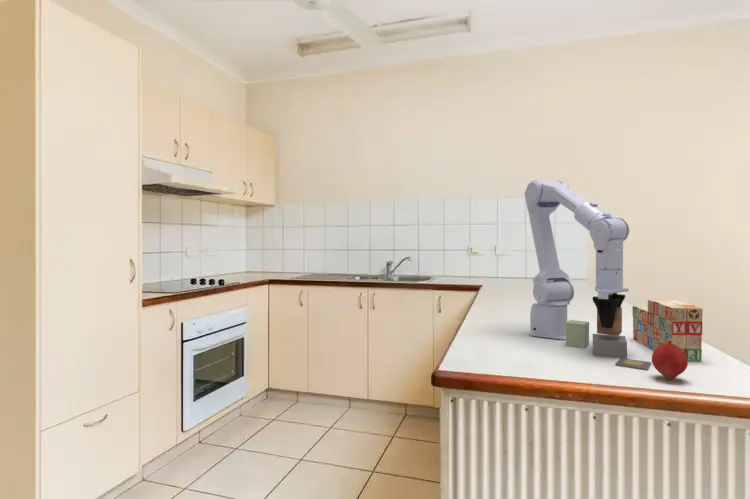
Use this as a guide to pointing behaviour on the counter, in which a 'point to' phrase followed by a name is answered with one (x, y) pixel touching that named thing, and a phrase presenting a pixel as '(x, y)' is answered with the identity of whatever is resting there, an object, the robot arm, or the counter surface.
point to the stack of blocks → (669, 326)
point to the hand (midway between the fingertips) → (609, 325)
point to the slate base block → (609, 346)
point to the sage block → (577, 333)
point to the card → (633, 364)
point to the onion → (669, 360)
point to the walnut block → (616, 326)
